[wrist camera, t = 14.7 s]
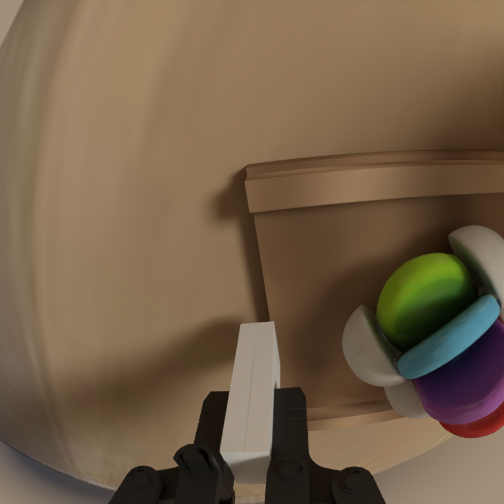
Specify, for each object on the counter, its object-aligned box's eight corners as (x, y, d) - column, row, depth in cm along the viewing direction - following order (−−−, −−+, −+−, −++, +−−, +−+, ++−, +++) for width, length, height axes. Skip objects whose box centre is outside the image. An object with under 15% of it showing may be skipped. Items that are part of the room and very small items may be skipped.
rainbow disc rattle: (402, 392, 17) (428, 490, 10) (312, 298, 14) (328, 436, 8) (511, 314, 14) (570, 397, 7) (459, 184, 11) (574, 260, 5)
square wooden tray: (285, 413, 19) (284, 460, 16) (248, 164, 13) (235, 186, 9) (493, 374, 17) (512, 410, 14) (545, 154, 10) (592, 173, 7)
